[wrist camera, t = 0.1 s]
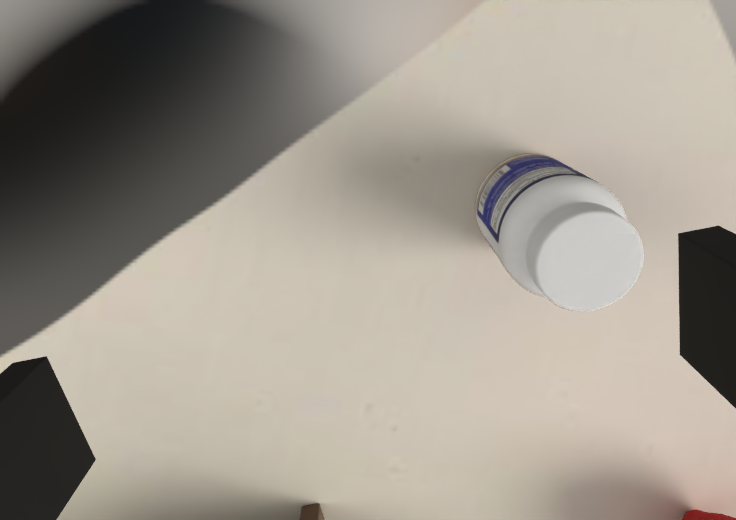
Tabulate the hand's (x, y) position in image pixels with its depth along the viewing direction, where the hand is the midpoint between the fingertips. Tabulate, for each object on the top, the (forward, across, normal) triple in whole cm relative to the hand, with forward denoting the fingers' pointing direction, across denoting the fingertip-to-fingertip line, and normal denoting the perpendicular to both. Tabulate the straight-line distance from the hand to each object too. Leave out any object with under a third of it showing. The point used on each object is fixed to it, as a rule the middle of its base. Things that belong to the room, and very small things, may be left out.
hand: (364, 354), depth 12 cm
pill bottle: (+18, +8, -3) cm, 20 cm away
